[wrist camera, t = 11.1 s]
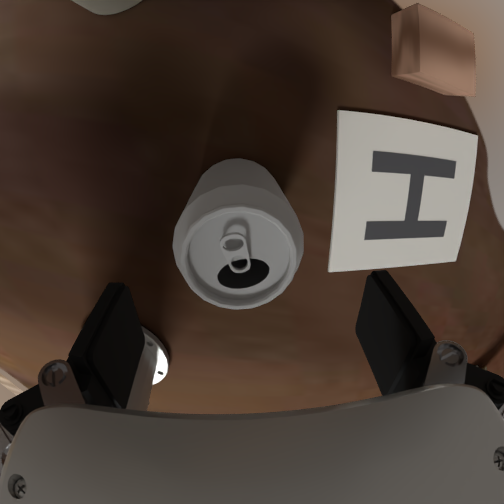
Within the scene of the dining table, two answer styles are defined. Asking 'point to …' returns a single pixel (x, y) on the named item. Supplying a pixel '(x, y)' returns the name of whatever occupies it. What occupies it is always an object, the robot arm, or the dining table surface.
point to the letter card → (398, 192)
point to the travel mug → (107, 5)
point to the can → (238, 236)
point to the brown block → (433, 51)
